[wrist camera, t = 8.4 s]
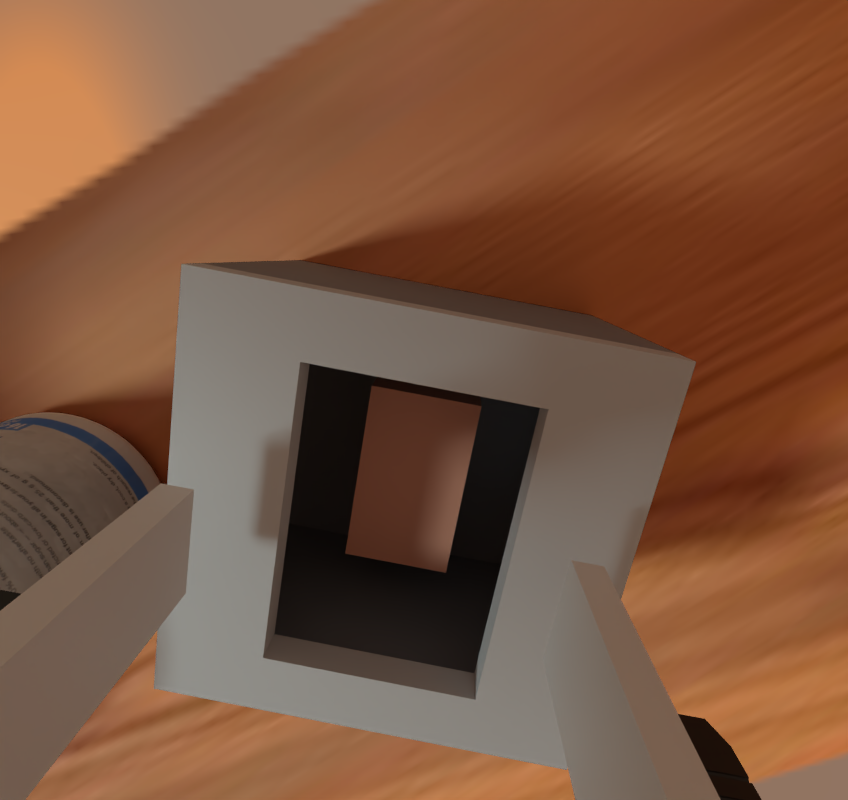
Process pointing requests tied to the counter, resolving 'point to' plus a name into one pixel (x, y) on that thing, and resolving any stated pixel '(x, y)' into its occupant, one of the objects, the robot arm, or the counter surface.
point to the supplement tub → (60, 490)
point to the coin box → (335, 488)
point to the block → (412, 473)
